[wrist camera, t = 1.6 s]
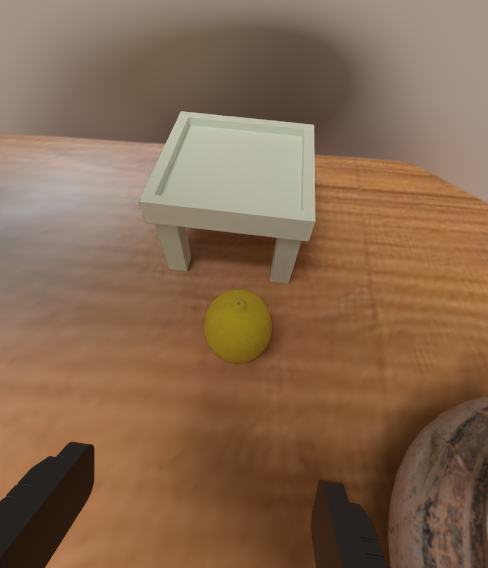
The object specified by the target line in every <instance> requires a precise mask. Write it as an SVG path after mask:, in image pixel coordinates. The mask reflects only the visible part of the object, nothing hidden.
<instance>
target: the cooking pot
mask: <svg viewBox="0 0 488 568" xmlns="http://www.w3.org/2000/svg"><path fill="white" fill-rule="evenodd" d="M388 545H389V558H390V568H488V396H486V397H481V398H477V399H472V400H468V401H465V402H463V403H461V404H458V405H456V406H454V407H452V408H450V409H448V410H446V411H444V412H442V413H441V414H439V415H438V416H437V417H436V418H435V419H433V420H432V421H431V422H430V423H428V424H427V425H426V426H425V427H424V428H423V429H422V430H421V431H420V433H419V434H418V435H417V437H416V438H415V439H414V441H413V442H412V444H411V445H410V446H409V448H408V449H407V451H406V453H405V456H404V458H403V460H402V462H401V465H400V467H399V469H398V472H397V474H396V478H395V482H394V487H393V491H392V496H391V500H390V507H389V524H388Z"/></svg>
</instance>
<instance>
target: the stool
mask: <svg viewBox="0 0 488 568" xmlns="http://www.w3.org/2000/svg"><path fill="white" fill-rule="evenodd" d="M139 204H140V207H141V210H142V213H143V215H144V218H145V221H146V223H155V226H156V229H157V232H158V235H159V239H160V242H161V245H162V248H163V251H164V255H165V258H166V261H167V264H168V267H169V269H171V270H179V271H188V267H189V264H190V260H191V253H190V248H189V242H188V237H187V232H186V227H189V228H198V229H206V230H215V231H223V232H232V233H241V234H249V235H258V236H267V237H275V238H277V239H276V244H275V250H274V255H273V260H272V265H271V275H270V282H277V283H285V284H289V281H290V277H291V274H292V271H293V267H294V264H295V261H296V257H297V254H298V251H299V248H300V244H301V241H309V239H310V236H311V233H312V230H313V227H314V224H315V163H314V125H310V124H300V123H290V122H280V121H270V120H260V119H251V118H241V117H231V116H221V115H211V114H201V113H191V112H181V113H180V115H179V117H178V119H177V121H176V124H175V125H174V128H173V130H172V132H171V134H170V136H169V138H168V140H167V142H166V145H165V147H164V149H163V151H162V153H161V155H160V157H159V159H158V162H157V164H156V166H155V168H154V170H153V172H152V174H151V177H150V179H149V181H148V183H147V185H146V187H145V189H144V191H143V194H142V196H141V198H140V200H139Z"/></svg>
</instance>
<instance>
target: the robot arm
mask: <svg viewBox="0 0 488 568" xmlns="http://www.w3.org/2000/svg"><path fill="white" fill-rule="evenodd" d="M93 484H94V446H93V445H91V444H84V443H78V442H70V443H68V444H67V445H66V446H65V447H64V449H63V450H62V451H61V452H60V453H59V454H58V455H57V456H56V457H52V456H49V457H47V458H46V459H44V460H43V461H41V462H40V463H38V464H37V465H35V466H34V467H32V468H31V469H30V470H29V471H28V472H27V474H26V475H25V476H24V477H23V478H22V479H21V480H20V481H19V482H18V484H17V486H16V485H15V486H14V487H13V488H12V489H11V491H10V492H9V493H8V494H7V495H6V497H5V498H3V499H2V500H1V501H0V568H45V567H46V565H47V563H48V562H49V560H50V559H51V557H52V556H53V554H54V552H55V551H56V549H57V548H58V546H59V545H60V543H61V541H62V540H63V538H64V537H65V535H66V533H67V532H68V530H69V529H70V527H71V526H72V524H73V522H74V521H75V519H76V518H77V516H78V514H79V513H80V511H81V510H82V508H83V507H84V505H85V503H86V502H87V500H88V498H89V496H90V494H91V491H92V488H93ZM311 531H312V540H313V547H314V553H315V560H316V566H317V568H388V565H387V563H386V561H385V560H384V554H383V552H382V549H381V546H380V544H379V543H378V538H377V535H376V532H375V529H374V527H373V524H372V521H371V520H370V518H369V517H368V516H367V514H366V513H365V511H364V510H363V509H362V507H361V506H360V505H359V504H354V503H349V500H348V497H347V494H346V490H345V487H344V485H343V484H342V483H338V482H332V481H325V480H320V481H319V483H318V488H317V492H316V497H315V502H314V507H313V512H312V520H311Z"/></svg>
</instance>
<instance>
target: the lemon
mask: <svg viewBox="0 0 488 568" xmlns="http://www.w3.org/2000/svg"><path fill="white" fill-rule="evenodd" d="M204 331H205V338H206V340H207V343H208V345H209V347H210V348H211V350H212V351H213V352H214V353H215V354H216V355H217V356H218V357H220V358H221V359H223V360H225V361H227V362H231V363H245V362H248V361H251V360H253V359H255V358H256V357H258V356H259V355H260V354H261V353H262V352H263V351H264V350H265V348H266V347H267V345H268V343H269V341H270V338H271V333H272V319H271V315H270V312H269V309H268V307H267V305H266V304H265V302H264V301H263V300H262V299H261V298H260V297H259V296H258V295H256V294H255V293H253V292H251V291H247V290H243V289H234V290H229V291H226V292H224V293H222V294H221V295H219V296H218V297H217V298H216V299H215V300H214V301H213V302H212V303H211V305H210V307H209V309H208V311H207V313H206V316H205V322H204Z"/></svg>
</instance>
